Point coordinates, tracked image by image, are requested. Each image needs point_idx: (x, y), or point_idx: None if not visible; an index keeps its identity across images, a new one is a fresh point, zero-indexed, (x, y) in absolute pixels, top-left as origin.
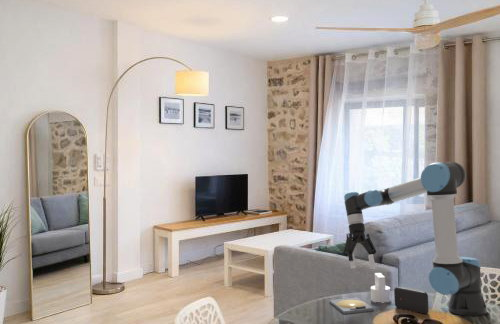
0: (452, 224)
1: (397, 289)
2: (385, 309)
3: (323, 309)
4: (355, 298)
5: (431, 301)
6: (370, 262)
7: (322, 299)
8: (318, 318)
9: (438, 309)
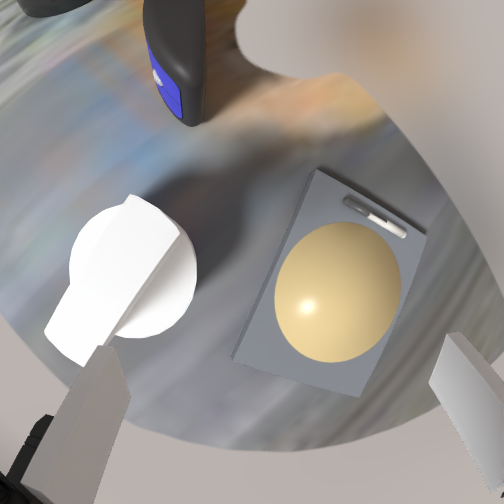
0: None
1: (205, 59)
2: (256, 143)
3: (425, 334)
4: (257, 350)
5: (23, 93)
6: (105, 435)
7: (335, 440)
8: (481, 266)
9: (106, 16)
